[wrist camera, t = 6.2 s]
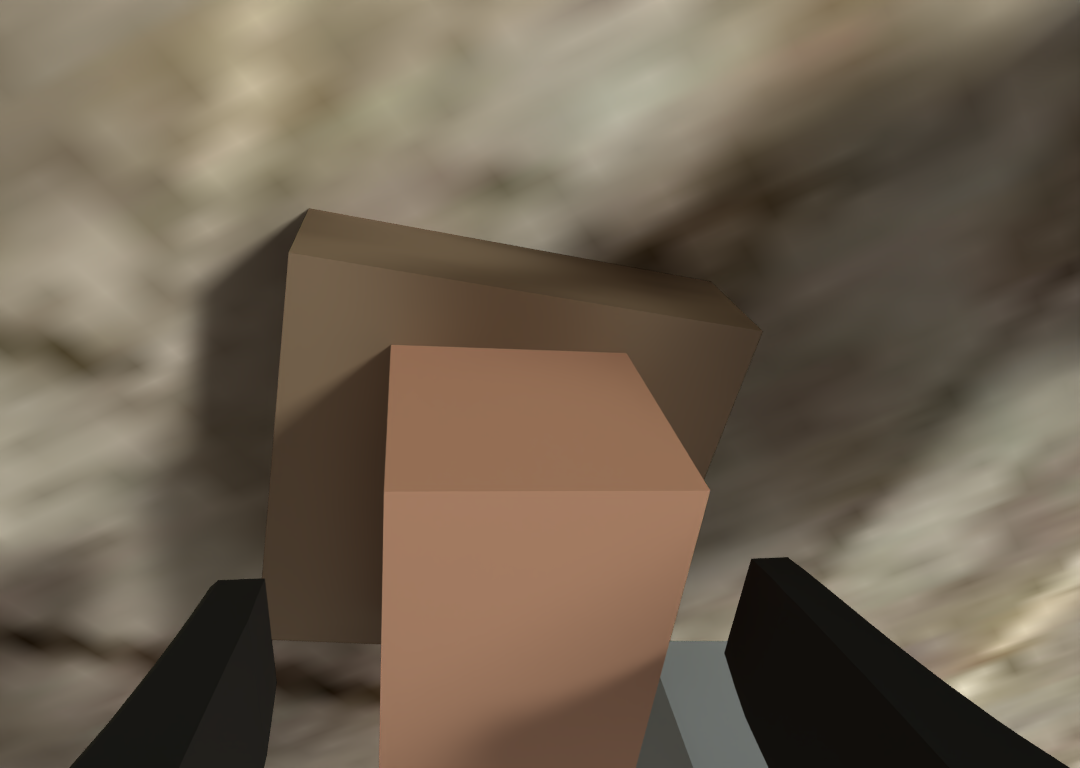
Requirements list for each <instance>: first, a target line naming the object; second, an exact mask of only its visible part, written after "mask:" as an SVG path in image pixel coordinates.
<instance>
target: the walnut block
mask: <svg viewBox="0 0 1080 768" xmlns="http://www.w3.org/2000/svg"><path fill="white" fill-rule="evenodd" d="M762 332H763V331H762V330H761V329H760V328H759V327H758V326H757V325H756V324H755V323H754V322H752V321H751V320H750V319H749V318H748V317H747V316H746V315H745V314H744V313H743V312H742V311H741V310H740V309H739V308H738V307H737V306H736V305H735V304H734V303H733V302H732V301H730V300H729V299H728V298H727V297H726V296H725V295H724V294H723V293H722V292H721V291H720V290H719V289H718V288H717V287H716V286H715V285H714V284H713V283H712V282H710V281H704V280H699V279H694V278H688V277H683V276H677V275H672V274H666V273H661V272H655V271H650V270H644V269H639V268H633V267H628V266H622V265H617V264H611V263H606V262H600V261H595V260H589V259H584V258H578V257H573V256H567V255H562V254H556V253H551V252H545V251H540V250H534V249H529V248H524V247H518V246H513V245H507V244H502V243H496V242H491V241H485V240H480V239H474V238H469V237H463V236H458V235H452V234H447V233H441V232H436V231H430V230H425V229H419V228H414V227H408V226H403V225H397V224H392V223H386V222H381V221H375V220H370V219H364V218H359V217H353V216H348V215H343V214H337V213H332V212H326V211H321V210H315V209H310V208H309V209H308V211H307V214H306V216H305V218H304V220H303V222H302V225H301V227H300V229H299V231H298V233H297V235H296V238H295V240H294V242H293V244H292V246H291V248H290V251H289V254H288V266H287V278H286V290H285V303H284V315H283V327H282V339H281V351H280V364H279V376H278V388H277V400H276V413H275V425H274V437H273V449H272V461H271V474H270V486H269V498H268V510H267V523H266V535H265V547H264V559H263V571H262V579H264V578H265V583H266V592H267V601H268V610H269V619H270V628H271V636H272V640H289V641H313V642H338V643H362V644H381V631H382V575H383V518H384V480H385V459H386V438H387V417H388V396H389V375H390V353H391V345H411V346H439V347H467V348H495V349H524V350H552V351H580V352H609V353H627V355H628V356H629V358H630V360H631V361H632V363H633V365H634V366H635V368H636V370H637V371H638V373H639V374H640V376H641V378H642V379H643V381H644V383H645V384H646V386H647V388H648V389H649V391H650V392H651V394H652V396H653V397H654V399H655V401H656V402H657V404H658V406H659V407H660V409H661V411H662V412H663V414H664V415H665V417H666V419H667V420H668V422H669V424H670V425H671V427H672V429H673V430H674V432H675V434H676V435H677V437H678V438H679V440H680V442H681V443H682V445H683V447H684V448H685V450H686V452H687V453H688V455H689V457H690V458H691V460H692V461H693V463H694V465H695V466H696V468H697V470H698V471H699V473H700V475H701V476H702V478H703V479H704V478H705V476H706V473H707V471H708V468H709V465H710V463H711V460H712V458H713V455H714V453H715V450H716V448H717V445H718V443H719V440H720V438H721V435H722V433H723V430H724V428H725V425H726V423H727V420H728V418H729V415H730V413H731V410H732V408H733V405H734V403H735V400H736V398H737V395H738V393H739V390H740V387H741V385H742V382H743V380H744V377H745V375H746V372H747V370H748V367H749V365H750V362H751V360H752V357H753V355H754V352H755V350H756V347H757V345H758V342H759V340H760V337H761V335H762Z"/></svg>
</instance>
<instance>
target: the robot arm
mask: <svg viewBox="0 0 1080 768" xmlns="http://www.w3.org/2000/svg"><path fill="white" fill-rule="evenodd" d="M724 654H725V657H726V660H727V664H728V667H729V670H730V673H731V676H732V680H733V683H734V686H735V689H736V692H737V695H738V698H739V701H740V704H741V707H742V709H743V712H744V715H745V718H746V720H747V722H748V725H749V727H750V729H751V731H752V733H753V736H754V738H755V740H756V742H757V744H758V746H759V749H760V751H761V753H762V755H763V757H764V759H765V761H766V764H767V766H768V768H1069V767H1068V766H1066V765H1065V764H1063V763H1061V762H1060V761H1058V760H1057V759H1055V758H1054V757H1052V756H1051V755H1049V754H1048V753H1046V752H1044V751H1043V750H1041V749H1040V748H1038V747H1037V746H1035V745H1034V744H1032V743H1031V742H1029V741H1028V740H1026V739H1024V738H1023V737H1021V736H1020V735H1018V734H1017V733H1015V732H1014V731H1012V730H1011V729H1010V728H1008V727H1007V726H1005V725H1004V724H1002V723H1001V722H999V721H998V720H996V719H995V718H994V717H992V716H991V715H989V714H988V713H986V712H985V711H984V710H982V709H981V708H980V707H978V706H977V705H975V704H974V703H973V702H971V701H970V700H969V699H967V698H966V697H965V696H963V695H962V694H960V693H959V692H958V691H956V690H955V689H954V688H952V687H951V686H949V685H948V684H947V683H945V682H944V681H943V680H941V679H940V678H939V677H937V676H936V675H935V674H933V673H932V672H931V671H930V670H928V669H927V668H926V667H924V666H923V665H922V664H920V663H919V662H918V661H917V660H915V659H914V658H913V657H911V656H910V655H909V654H908V653H906V652H905V651H904V650H903V649H901V648H900V647H899V646H897V645H896V644H895V643H894V642H892V641H891V640H890V639H889V638H887V637H886V636H885V635H884V634H882V633H881V632H880V631H879V630H878V629H876V628H875V627H874V626H873V625H871V624H870V623H869V622H868V621H866V620H865V619H864V618H863V617H862V616H860V615H859V614H858V613H857V612H855V611H854V610H853V609H852V608H851V607H849V606H848V605H847V604H846V603H844V602H843V601H842V600H841V599H840V598H838V597H837V596H836V595H835V594H833V593H832V592H831V591H830V590H829V589H827V588H826V587H825V586H824V585H822V584H821V583H820V582H819V581H818V580H816V579H815V578H814V577H813V576H811V575H810V574H809V573H808V572H806V571H805V570H804V569H802V568H801V567H800V566H799V565H797V564H796V563H795V562H793V561H792V560H791V559H789V558H788V557H783V558H758V559H751V562H750V565H749V569H748V572H747V576H746V579H745V583H744V586H743V590H742V593H741V597H740V600H739V603H738V607H737V610H736V614H735V617H734V621H733V624H732V628H731V631H730V635H729V638H728V642H727V645H726V649H725V652H724ZM276 683H277V681H276V672H275V663H274V654H273V645H272V636H271V628H270V619H269V610H268V601H267V592H266V583H265V578H264V579H239V580H218V581H217V582H216V583H215V584H213V585H212V586H211V587H210V588H209V590H208V591H207V593H206V594H205V596H204V597H203V599H202V600H201V602H200V603H199V605H198V606H197V607H196V609H195V610H194V612H193V613H192V615H191V616H190V617H189V619H188V620H187V622H186V623H185V624H184V626H183V627H182V629H181V630H180V631H179V633H178V634H177V635H176V637H175V638H174V640H173V641H172V642H171V644H170V645H169V646H168V648H167V649H166V650H165V652H164V653H163V654H162V656H161V657H160V658H159V660H158V661H157V662H156V664H155V665H154V666H153V667H152V669H151V670H150V671H149V673H148V674H147V675H146V676H145V678H144V679H143V680H142V681H141V683H140V684H139V685H138V686H137V688H136V689H135V690H134V691H133V693H132V694H131V695H130V696H129V698H128V699H127V700H126V702H125V703H124V704H123V705H122V707H121V708H120V709H119V710H118V712H117V713H116V714H115V715H114V717H113V718H112V719H111V720H110V721H109V723H108V724H107V725H106V726H105V727H104V729H103V730H102V731H101V732H100V733H99V734H98V735H97V737H96V738H95V739H94V740H93V741H92V742H91V744H90V745H89V746H88V747H87V748H86V749H85V750H84V752H83V753H82V754H81V755H80V756H79V757H78V758H77V760H76V761H75V762H74V763H73V764H72V765H71V767H70V768H264V765H265V760H266V756H267V749H268V742H269V735H270V728H271V721H272V714H273V706H274V698H275V691H276Z"/></svg>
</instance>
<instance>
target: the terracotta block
mask: <svg viewBox="0 0 1080 768" xmlns="http://www.w3.org/2000/svg"><path fill="white" fill-rule="evenodd" d="M709 494H710V489H709V488H708V486H707V484H706V483H705V481H704V479H703V478H702V476H701V475H700V473H699V471H698V470H697V468H696V466H695V465H694V463H693V461H692V460H691V458H690V457H689V455H688V453H687V452H686V450H685V448H684V447H683V445H682V443H681V442H680V440H679V438H678V437H677V435H676V434H675V432H674V430H673V429H672V427H671V425H670V424H669V422H668V420H667V419H666V417H665V415H664V414H663V412H662V411H661V409H660V407H659V406H658V404H657V402H656V401H655V399H654V397H653V396H652V394H651V392H650V391H649V389H648V388H647V386H646V384H645V383H644V381H643V379H642V378H641V376H640V374H639V373H638V371H637V370H636V368H635V366H634V365H633V363H632V361H631V360H630V358H629V356H628V355H627V353H609V352H580V351H552V350H524V349H495V348H467V347H439V346H411V345H391V353H390V375H389V396H388V417H387V438H386V459H385V480H384V518H383V575H382V631H381V688H380V745H379V768H636V765H637V761H638V757H639V754H640V750H641V746H642V743H643V739H644V735H645V731H646V728H647V724H648V720H649V717H650V713H651V709H652V705H653V702H654V698H655V694H656V691H657V687H658V683H659V679H660V676H661V672H662V668H663V665H664V661H665V657H666V653H667V650H668V646H669V642H670V639H671V635H672V631H673V627H674V624H675V620H676V616H677V613H678V609H679V605H680V601H681V598H682V594H683V590H684V586H685V583H686V579H687V575H688V572H689V568H690V564H691V560H692V557H693V553H694V549H695V546H696V542H697V538H698V534H699V531H700V527H701V523H702V520H703V516H704V512H705V508H706V505H707V501H708V497H709Z"/></svg>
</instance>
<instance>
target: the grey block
mask: <svg viewBox="0 0 1080 768" xmlns="http://www.w3.org/2000/svg"><path fill="white" fill-rule="evenodd" d="M727 642H728V641H670V642H669V646H668V650H667V653H666V657H665V661H664V665H663V668H662V672H661V676H660V679H659V683H658V687H657V691H656V694H655V698H654V702H653V705H652V709H651V713H650V717H649V720H648V724H647V728H646V731H645V735H644V739H643V743H642V746H641V750H640V754H639V757H638V761H637V765H636V768H768V766H767V764H766V761H765V759H764V757H763V755H762V753H761V751H760V749H759V746H758V744H757V742H756V740H755V738H754V736H753V733H752V731H751V729H750V727H749V725H748V722H747V720H746V718H745V715H744V712H743V709H742V707H741V704H740V701H739V698H738V695H737V692H736V689H735V686H734V683H733V680H732V676H731V673H730V670H729V667H728V664H727V660H726V657H725V654H724V652H725V649H726V645H727Z"/></svg>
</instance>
